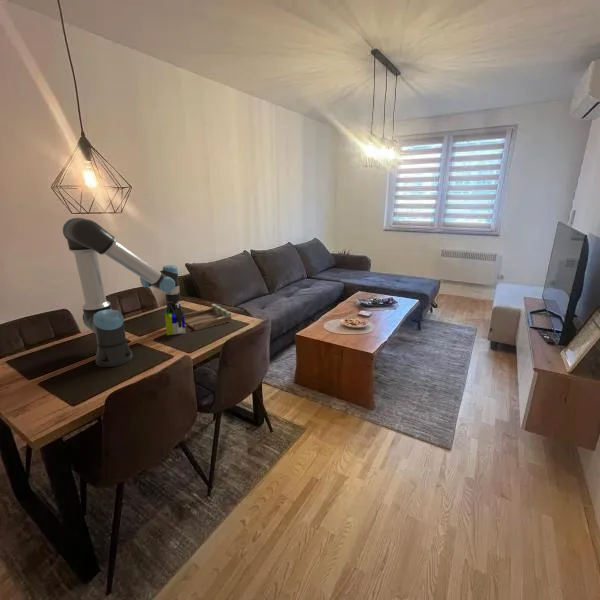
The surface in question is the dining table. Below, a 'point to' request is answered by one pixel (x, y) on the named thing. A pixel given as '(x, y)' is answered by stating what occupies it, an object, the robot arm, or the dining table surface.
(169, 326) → the puzzle toy
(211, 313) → the board
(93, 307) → the robot arm
